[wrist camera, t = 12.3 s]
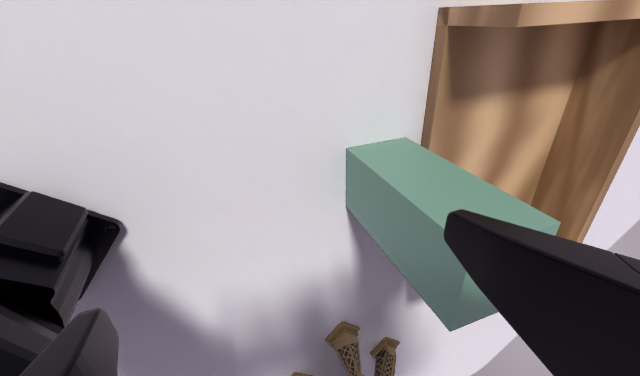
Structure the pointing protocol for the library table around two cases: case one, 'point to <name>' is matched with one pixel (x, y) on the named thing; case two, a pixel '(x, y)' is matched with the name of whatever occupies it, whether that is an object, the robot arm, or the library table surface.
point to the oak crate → (538, 100)
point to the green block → (428, 220)
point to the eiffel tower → (349, 351)
